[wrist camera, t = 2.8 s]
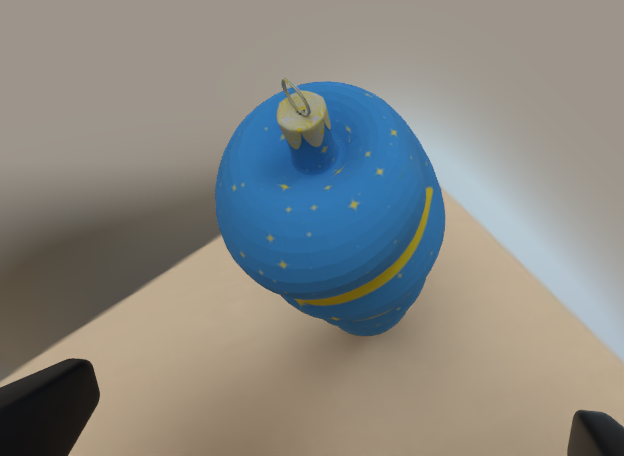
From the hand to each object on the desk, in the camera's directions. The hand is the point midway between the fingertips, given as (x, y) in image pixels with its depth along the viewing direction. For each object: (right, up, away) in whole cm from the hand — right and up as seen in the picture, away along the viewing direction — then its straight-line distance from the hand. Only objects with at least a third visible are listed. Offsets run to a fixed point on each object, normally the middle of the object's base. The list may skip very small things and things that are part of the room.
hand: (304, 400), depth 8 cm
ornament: (+3, -1, +12) cm, 13 cm away
